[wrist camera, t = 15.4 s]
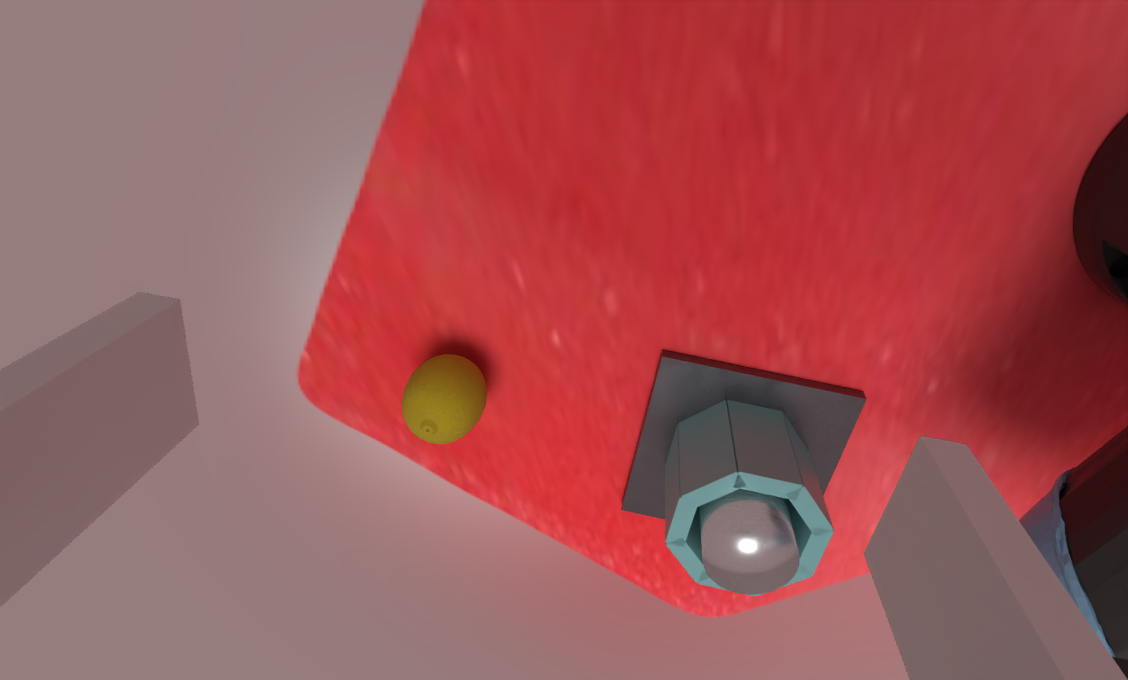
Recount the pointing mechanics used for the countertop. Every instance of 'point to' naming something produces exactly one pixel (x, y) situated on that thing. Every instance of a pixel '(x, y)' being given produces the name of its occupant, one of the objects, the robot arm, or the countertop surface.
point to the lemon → (444, 398)
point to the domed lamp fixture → (741, 518)
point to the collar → (741, 479)
